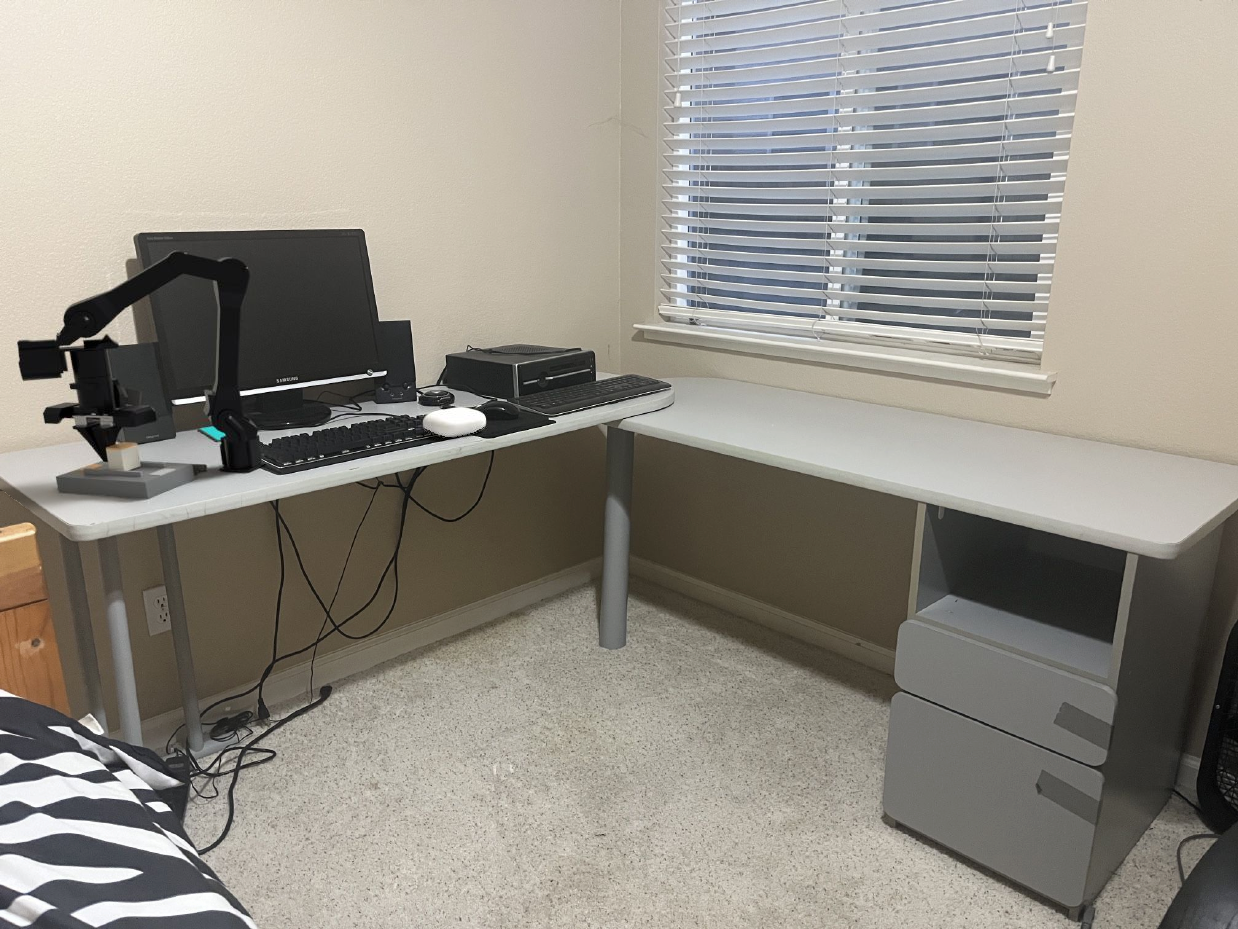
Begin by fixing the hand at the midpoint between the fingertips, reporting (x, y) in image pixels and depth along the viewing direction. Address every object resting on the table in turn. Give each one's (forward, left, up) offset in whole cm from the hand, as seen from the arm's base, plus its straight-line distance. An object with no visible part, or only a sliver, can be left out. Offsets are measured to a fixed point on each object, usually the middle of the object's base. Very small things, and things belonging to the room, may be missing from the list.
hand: (107, 461), depth 156 cm
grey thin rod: (-4, -11, -4) cm, 12 cm away
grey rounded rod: (-3, -9, -4) cm, 11 cm away
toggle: (-3, 0, -1) cm, 4 cm away
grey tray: (-3, 0, -4) cm, 6 cm away
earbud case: (-46, -50, -5) cm, 68 cm away
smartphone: (+6, -40, -5) cm, 41 cm away
